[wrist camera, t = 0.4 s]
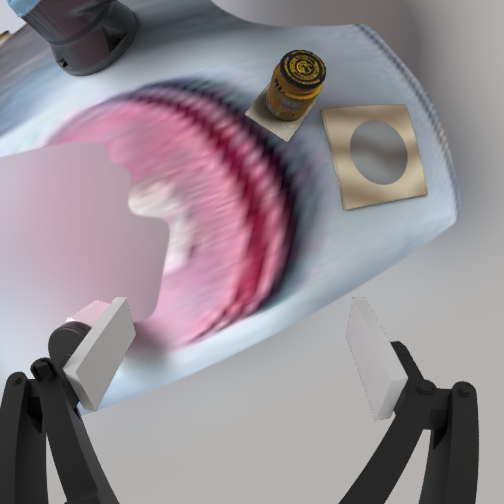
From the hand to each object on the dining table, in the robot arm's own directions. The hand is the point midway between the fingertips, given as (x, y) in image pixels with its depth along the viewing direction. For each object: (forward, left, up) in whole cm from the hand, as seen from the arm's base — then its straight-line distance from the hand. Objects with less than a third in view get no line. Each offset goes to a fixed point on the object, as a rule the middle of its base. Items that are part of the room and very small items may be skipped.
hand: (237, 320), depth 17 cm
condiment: (-20, +11, -26) cm, 34 cm away
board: (-11, +24, -25) cm, 37 cm away
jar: (+6, -22, -25) cm, 34 cm away
